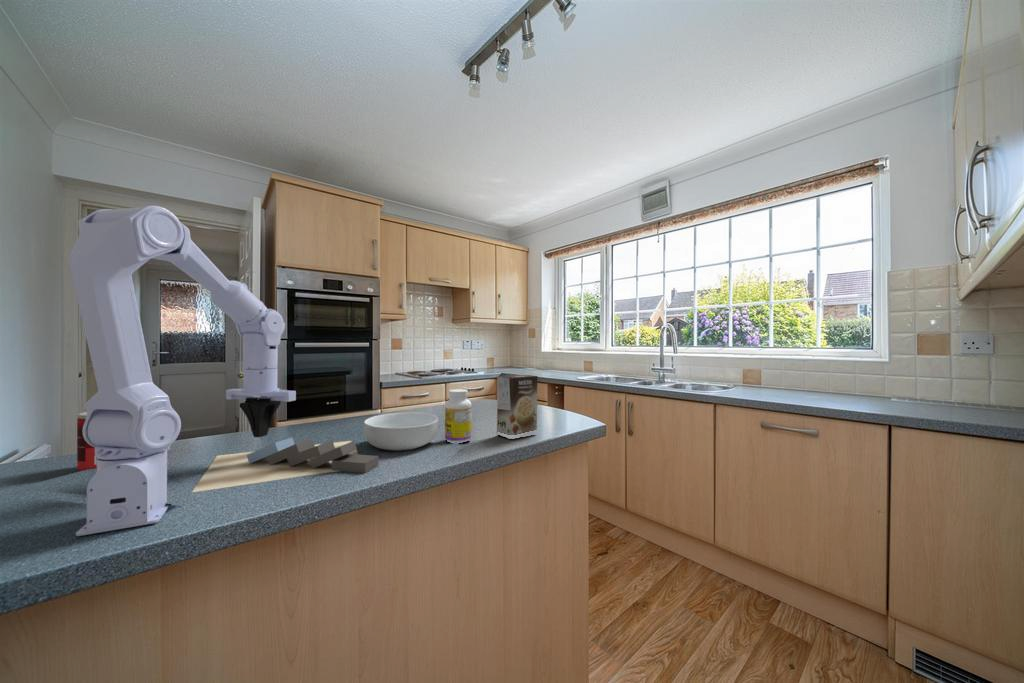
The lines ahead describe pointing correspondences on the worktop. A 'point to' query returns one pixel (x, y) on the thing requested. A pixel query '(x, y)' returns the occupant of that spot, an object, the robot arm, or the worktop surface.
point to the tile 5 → (355, 463)
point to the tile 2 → (290, 451)
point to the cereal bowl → (401, 430)
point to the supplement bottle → (458, 416)
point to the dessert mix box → (517, 404)
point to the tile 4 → (332, 454)
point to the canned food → (84, 447)
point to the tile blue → (269, 450)
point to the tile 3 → (311, 453)
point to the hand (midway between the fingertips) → (260, 436)
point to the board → (256, 470)
